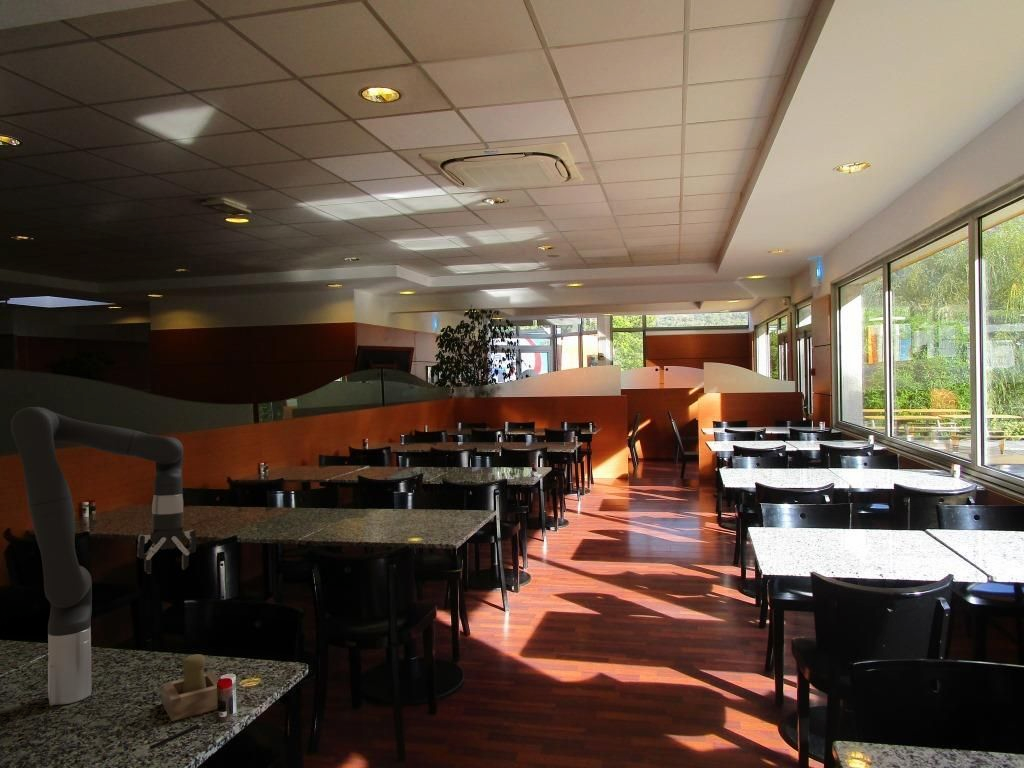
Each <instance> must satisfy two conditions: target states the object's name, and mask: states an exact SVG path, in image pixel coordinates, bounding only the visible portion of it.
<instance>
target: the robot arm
mask: <svg viewBox="0 0 1024 768" xmlns="http://www.w3.org/2000/svg"><path fill="white" fill-rule="evenodd" d="M10 431H11V434H12V437H13V440H14V444H15V445H16V449H17V451H18V455H19V458H20V461H21V465H22V469H23V470H22V471H23V478H24V485H25V487H24V488H25V492H26V499H27V505H28V508H29V509H28V510H29V515H30V519H31V522H32V527H33V530H34V536H35V539H36V543H37V545H38V548H39V551H40V557H41V562H42V572H43V573H42V575H43V586H44V588H43V589H44V595H45V597H46V599H47V600H48V602H49V603H50V611H49V612H50V613H49V618H48V623H47V637H48V638H47V641H48V644H47V645H48V652H47V654H48V656H47V657H48V661H47V682H48V683H47V688H48V693H47V694H48V697H47V698H48V704H49V706H50V707H52V706H56V705H58V706H59V705H60V706H61V705H68V704H73V703H76V702H80V701H82V700H85V699H86V698H88V697H90V696H91V694H92V644H91V643H92V634H91V631H92V629H91V628H92V627H91V619H92V612H93V609H92V607H93V582H92V581H93V579H92V576H91V574H90V572H89V570H87V569H86V568H85V567H84V566H82V565H80V564H79V560H78V557H77V552H76V548H75V547H76V544H75V541H76V540H75V538H76V516H75V515H76V513H75V508H74V503H73V498H72V493H71V490H70V487H69V484H68V481H67V479H66V478H65V474H64V473H63V471H62V469H61V467H60V465H59V462H58V458H57V454H56V448H55V443H66V444H73V445H74V444H75V445H78V446H84V447H86V448H91V449H93V450H97V451H101V452H105V453H111V454H114V455H115V454H116V455H119V456H126V457H132V458H141V459H143V460H148V461H151V462H155V475H154V479H153V498H152V506H151V514H152V515H151V516H152V518H151V533H150V534H142V533H141V534H139V535H138V539H137V550H136V551H137V552H136V557H138V559H142V560H144V567H143V568H144V572H146V573H147V574H148V575H151V574H152V563H153V562H152V557H153V556H154V555H155V554H156V553H157V552H158V551H159V550H161V551H162V550H168V549H170V550H171V549H172V550H173V549H175V548H176V547H177V548H178V549H179V550H180V551H181V553H182V554H181V570H182V571H184V570H186V569H187V568H188V567H189V563H190V562H189V561H190V559H189V558H190V557H189V556H190V555H191V554H194V553H196V551H197V536H196V531H195V530H194V529H189V530H186V531H184V497H183V496H184V495H183V481H184V480H183V472H182V471H183V464H184V463H183V462H184V445H183V443H182V442H181V440H179V439H178V438H176V437H172V436H167V437H166V436H160V435H154V434H147V433H145V432H143V431H140V430H139V431H138V430H134V429H130V428H126V427H119V426H112V425H106V424H101V423H100V424H99V423H93V422H89V421H83V420H79V419H75V418H71V417H68V416H66V415H62V414H61V413H57V412H55V411H51V410H50V409H47V408H45V407H41V406H30V407H29V406H28V407H24V408H23V409H20V410H19V411H17V412H16V413H15V414H14V415H13V417H12V419H11V422H10ZM185 536H186V538H187V539H188V541H189V548H186V547H185V546H184V545H183V543H182V540H183V539H184V537H185ZM149 540H150V541H151V542H152V545H151V546H150V547H149V549H148V551H147V552H146V553H145V544H147V543H148V541H149Z"/></svg>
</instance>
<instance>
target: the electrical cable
mask: <svg viewBox="0 0 1024 768" xmlns="http://www.w3.org/2000/svg"><path fill="white" fill-rule="evenodd" d="M201 725H202V726H203V723H202V722H200V723H197V724H195V725H193V726H191V727H189V728H186V729H185V730H182V731H180V732H177V733H175V734H173V735H171V736H169V737H165V738H164V739H162V740H160V741H158V742H155V743H154V744H151V745H149V749H150V750H155V749H156V748H158V747H161V746H163V745H164V744H165V743H166V744H167V743H168V742H171V741H173V740H176V739H177V738H180V737H182V736H184V735H187V734H189V733H190V732H193V731H194V730H197V729H199V728H201V727H202V726H201ZM200 726H201V727H200ZM198 727H199V728H198ZM196 728H197V729H196Z"/></svg>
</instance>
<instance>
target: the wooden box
mask: <svg viewBox="0 0 1024 768" xmlns="http://www.w3.org/2000/svg"><path fill="white" fill-rule="evenodd" d="M204 676H205V682H206V688H204V689H200V690H196V691H192V692H188V693H184V694H182V693H183V685H184V678H179V679H177V680H173V681H172V680H171V681H168V682H164V683H162V684H161V690H162V693H161V694H162V695H161V696H162V698H161V699H162V700H161V701H162V702H161V703H162V706H163V707H164V709H165V711H166V713H167V715H168V716H169V719H170V721H171V722H175V721H178V720H183V719H186V718H189V717H192V716H197V715H200V714H204V713H208V712H211V711H215V710H218V709H217V703H218V702H217V701H218V698H217V683H218V680H219V679H220V678H219V677H218V676H217V674H216V673H215V672H214V671H208V672H204Z"/></svg>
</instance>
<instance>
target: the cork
mask: <svg viewBox="0 0 1024 768" xmlns="http://www.w3.org/2000/svg"><path fill="white" fill-rule="evenodd" d="M206 662H207V661H206V657H205V656H204V655H203V654H199V653H198V654H197V653H195V654H191V655H188V656H187V657H185V658H184V659H183V661H182V669H183V670H184V677H183V679H184V685H183V693H182V694H184V693H188V692H192V691H196V690H200V689H204V688H206V682H205V676H204V673H205V671H204V670H205V669H204V668H205V666H206Z"/></svg>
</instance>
